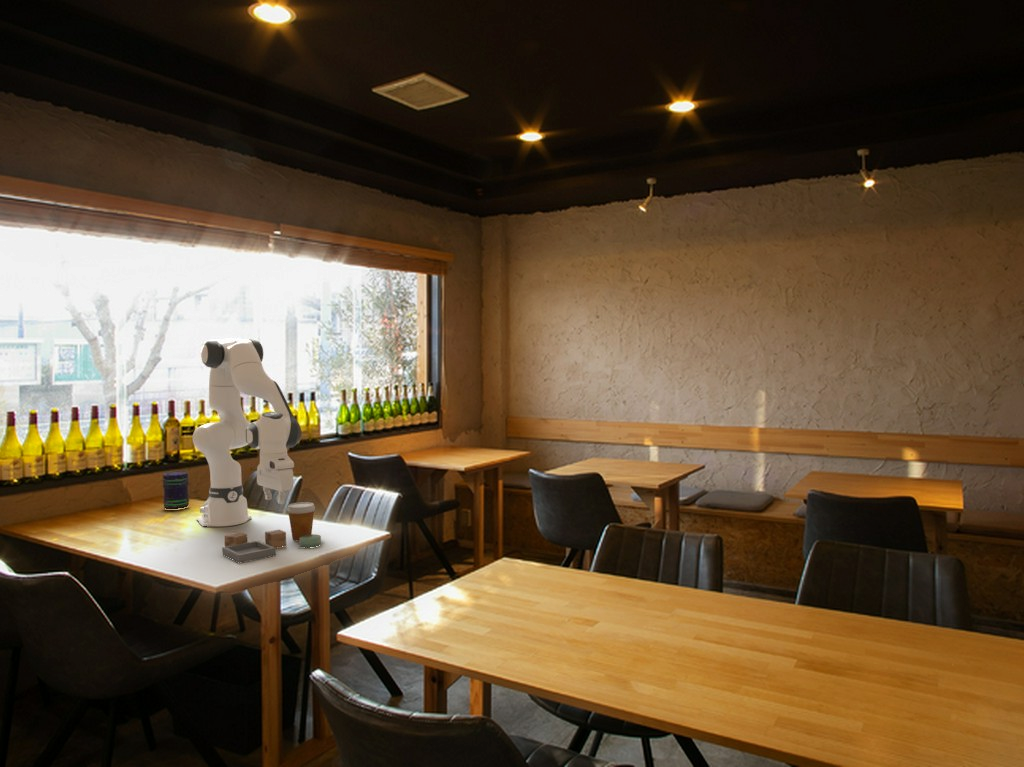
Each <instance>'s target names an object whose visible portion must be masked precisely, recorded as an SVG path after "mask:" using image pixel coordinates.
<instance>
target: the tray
mask: <svg viewBox="0 0 1024 767" xmlns="http://www.w3.org/2000/svg"><path fill="white" fill-rule="evenodd" d="M221 548H222V550H221V551H222V554H223V555H222V554H221V555H222V556H224V555H225V556H224V557H226V556H227V557H226V558H228V557H229V558H228V559H230V558H231V559H230V560H232V559H233V560H232V561H234V562H236V561H237V562H236V563H238V562H239V563H238V564H241V563H240V562H242V563H246V562H245V561H247V562H251V561H250V560H252V561H256V560H255V559H257V560H261V558H262V559H265V557H266V558H270V557H269V556H271V557H274V556H273V555H277V554H276V552H277V551H276V550H277V549H275V547H272V546H270V545H268V544H265V542H262V541H261V540H252V541H249V542H248V541H247V543H242V544H237V545H232V546H226V547H225V546H223V547H221Z"/></svg>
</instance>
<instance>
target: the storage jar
mask: <svg viewBox="0 0 1024 767" xmlns="http://www.w3.org/2000/svg"><path fill="white" fill-rule="evenodd" d="M189 484H190V483H189V472H188V471H180V470H176V471H168V472H164V473H162V487H163V497H162V498H163V509H164V508H166V509H178V508H184V507H187V506H188V505H189V504H190V494H189ZM189 506H190V505H189Z"/></svg>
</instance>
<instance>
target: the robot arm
mask: <svg viewBox="0 0 1024 767" xmlns="http://www.w3.org/2000/svg"><path fill="white" fill-rule="evenodd" d="M200 357H201V362H202V364H204V366H205V367H206V368H210V371H209V382H208V383H209V384H208V385H209V386H208V393H209V394H208V397H209V399H208V404H209V407H210V408H211V409H212V410H214V411H215V412H217V414H218V417H219V421H218V422H217V421H216V422H209V423H206V424H203V425H200V426H198V427H197V428H195V430H194V432H193V434H192V443H193V446H194V447H195V449H197V450H198V451H199V452H200V453H202V454H203V455H204V457H205V459H206V461H207V464H208V467H209V475H210V487H209V490H208V497H207V500H205V501H204V503H203V505H202V506H201V507H199V513H200V514H202V515H199V516H197V517H196V519H197V520H198V521H199V522H198V521H197V520H196V521H197V522H198V523H199V525H200V526H201V525H202V526H201V527H203V526H207V527H231V526H236V525H242V524H245V523H246V522H247V521H248V520H251V519H252V515H249V512H248V511H249V510H248V501H247V498H246V497H245V496H244V495H243V494H244V487H243V486H244V485H243V484H242V466H241V464H240V463H239V461H237V460H235V459H233V457H232V455H231V450H235V449H239V448H240V449H241V448H243V447H246V446H249V447H251V448H252V449H256V450H259V464H257V467H256V484H257V485H258V486H261V487H262V490H263V492H264V499H265V500H266V501H272V499H273V494H272V492H271V490H274V491H278V498H277V504H278V505H284V504H285V500H286V496H287V493H289V492H292V491H293V488H294V471H293V468H294V467H295V462H294V461H293V459H291V457H290V456H289V455H288V449H287V448H294V447H295V446H296V445H297V444H298V443H299V442H300V441H301V439H302V437H303V432H302V431H303V430H302V428H301V425H300V423H299V422H298V420H297V418H295V416H294V414H293V412H292V410H291V408H290V406H289V403H288V402H287V399H286V398H285V395H284V393H283V392H282V390H281V387H280V386H279V384H278V383H277V382H276V381H275V380H273V379H272V378H270V376H268V374H267V373H266V371H265V368H264V366H263V363H262V362H263V358H264V348H263V345H262V344H261V342H260V341H259V340H255V339H244V338H224V339H221V338H220V339H215V338H214V339H209V340H206V341H205V342H204V343H203V344H202V345H201V350H200ZM241 393H243V394H245V395H247V396H252V397H255V398H258V399H262V400H264V401H266V402H268V403H269V404H270V405H271V406H272V409H273V410H274V411H267V412H263V413H261V414H260V416H259V419H258V420H256V421H253V422H250V421H249V420H248V419H247V417H246V416H245V414H244V412H243V408H242V403H241V401H242V400H241Z"/></svg>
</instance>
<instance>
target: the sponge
mask: <svg viewBox="0 0 1024 767" xmlns="http://www.w3.org/2000/svg"><path fill="white" fill-rule="evenodd" d="M298 542H299V548H301V547H305V548H304V549H311V548H310V547H315V548H317V547H316V546H319V545H321V546H322V535H320V534H313V533H312V535H304V536H301V537H300V538H299V541H298ZM319 547H320V546H319Z"/></svg>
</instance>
